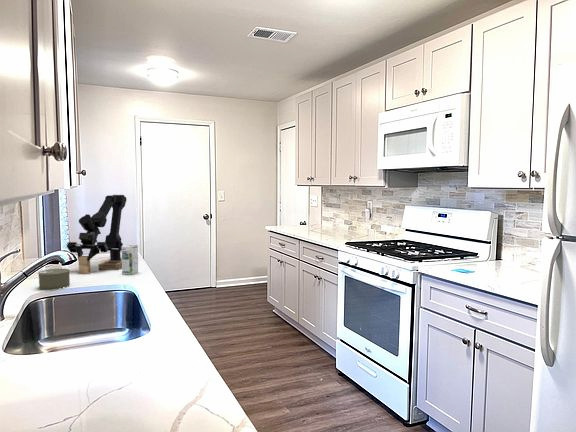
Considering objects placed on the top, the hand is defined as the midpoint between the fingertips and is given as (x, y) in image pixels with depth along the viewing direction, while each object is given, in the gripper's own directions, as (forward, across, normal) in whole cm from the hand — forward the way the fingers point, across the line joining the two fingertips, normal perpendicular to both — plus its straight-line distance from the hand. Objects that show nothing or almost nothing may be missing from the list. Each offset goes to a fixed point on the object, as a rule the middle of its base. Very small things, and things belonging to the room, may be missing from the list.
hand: (83, 260), depth 204 cm
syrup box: (+5, +23, +4) cm, 24 cm away
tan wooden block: (+4, 0, +6) cm, 7 cm away
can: (+23, -2, -14) cm, 27 cm away
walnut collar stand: (-5, +10, +14) cm, 18 cm away
